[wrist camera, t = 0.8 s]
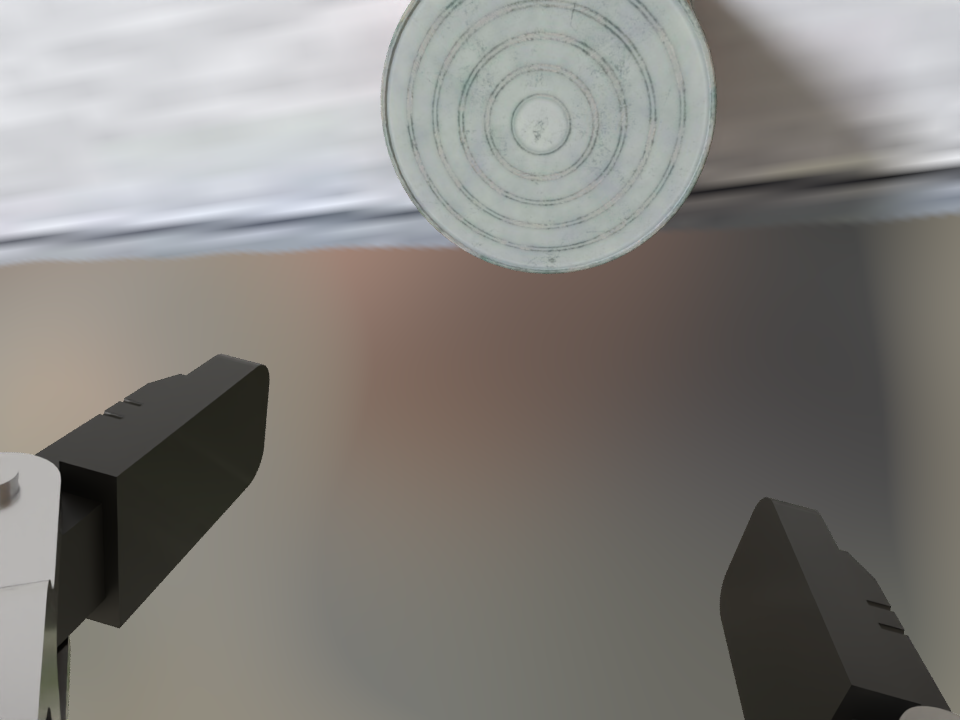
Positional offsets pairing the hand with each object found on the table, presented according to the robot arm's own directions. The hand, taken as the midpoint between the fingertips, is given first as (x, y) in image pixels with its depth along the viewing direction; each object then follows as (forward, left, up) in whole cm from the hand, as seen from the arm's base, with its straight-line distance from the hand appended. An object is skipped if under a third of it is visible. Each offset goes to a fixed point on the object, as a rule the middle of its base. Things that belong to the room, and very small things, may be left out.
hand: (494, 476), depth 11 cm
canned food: (-1, -1, -28) cm, 28 cm away
